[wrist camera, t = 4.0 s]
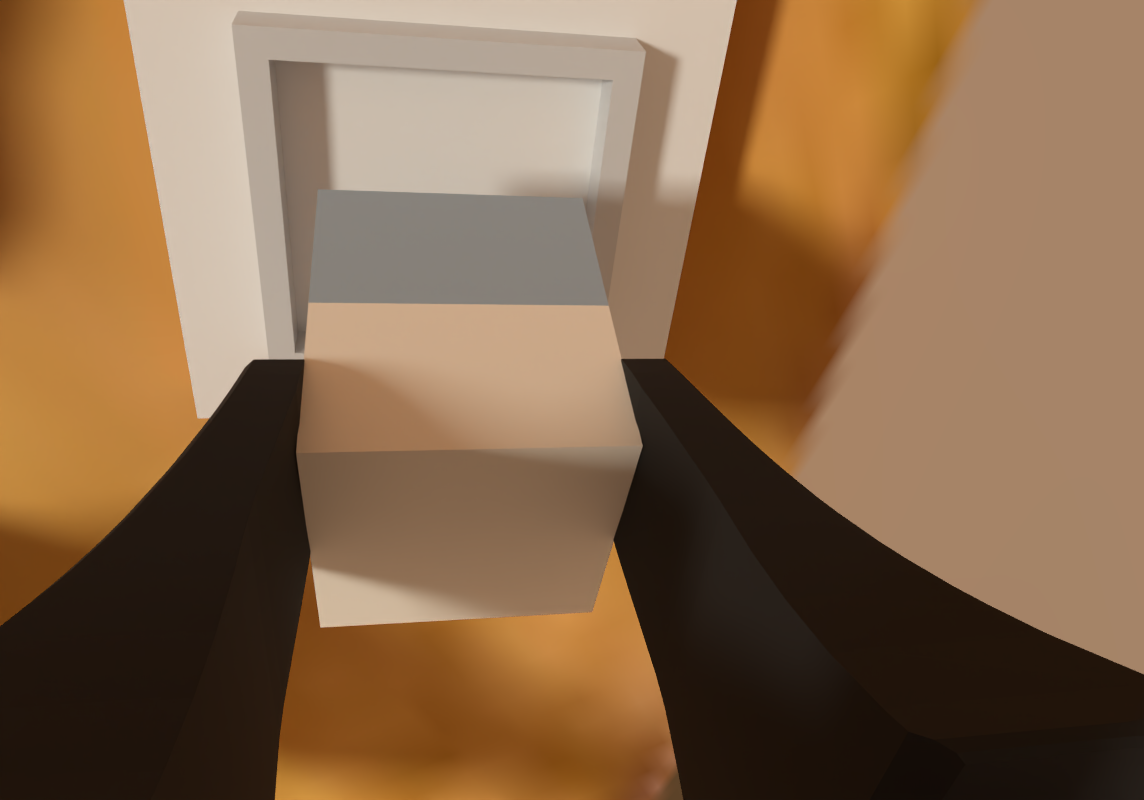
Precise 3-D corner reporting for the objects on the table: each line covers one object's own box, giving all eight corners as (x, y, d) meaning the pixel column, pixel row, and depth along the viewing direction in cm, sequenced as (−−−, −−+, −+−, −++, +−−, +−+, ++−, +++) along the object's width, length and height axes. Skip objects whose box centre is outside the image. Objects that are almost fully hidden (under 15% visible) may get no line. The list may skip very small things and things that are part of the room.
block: (551, 375, 17) (591, 611, 14) (333, 375, 16) (320, 627, 13) (582, 198, 14) (642, 445, 11) (317, 189, 13) (295, 453, 10)
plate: (641, 381, 22) (660, 433, 20) (206, 385, 20) (191, 442, 18) (727, -74, 16) (764, -51, 14) (121, -133, 14) (88, -112, 12)
